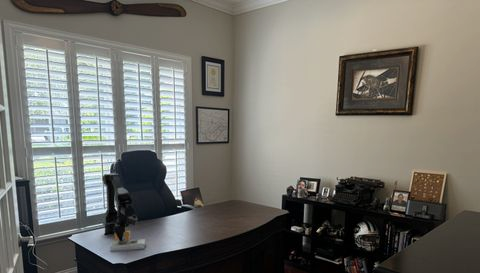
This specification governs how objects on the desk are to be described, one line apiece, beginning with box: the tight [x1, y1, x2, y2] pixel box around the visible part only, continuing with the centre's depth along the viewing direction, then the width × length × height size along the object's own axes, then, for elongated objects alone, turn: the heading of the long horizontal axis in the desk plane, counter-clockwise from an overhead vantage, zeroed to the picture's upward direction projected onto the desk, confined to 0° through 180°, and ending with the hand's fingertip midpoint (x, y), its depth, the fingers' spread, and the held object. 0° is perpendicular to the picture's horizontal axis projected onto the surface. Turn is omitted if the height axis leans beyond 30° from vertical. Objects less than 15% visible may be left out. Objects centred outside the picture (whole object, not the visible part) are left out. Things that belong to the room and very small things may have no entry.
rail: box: [109, 238, 146, 252], centre depth 161 cm, size 18×7×3 cm, turn 102°
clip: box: [114, 230, 131, 241], centre depth 169 cm, size 8×3×6 cm, turn 102°
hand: (122, 238), depth 169 cm, fingers open, 8 cm apart
